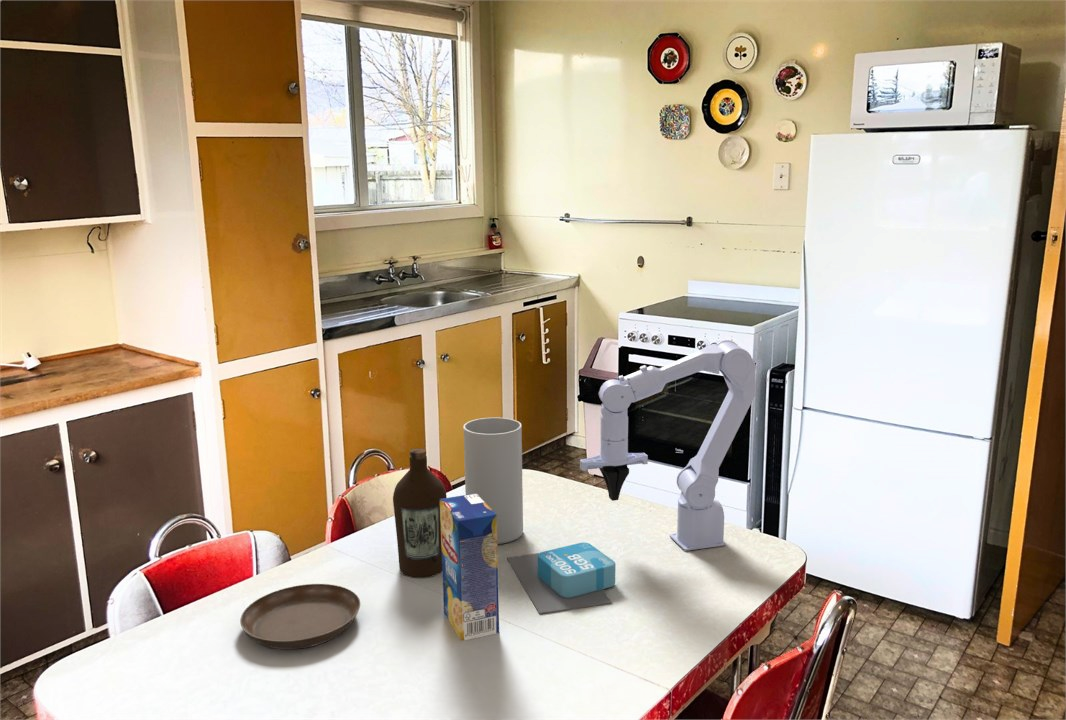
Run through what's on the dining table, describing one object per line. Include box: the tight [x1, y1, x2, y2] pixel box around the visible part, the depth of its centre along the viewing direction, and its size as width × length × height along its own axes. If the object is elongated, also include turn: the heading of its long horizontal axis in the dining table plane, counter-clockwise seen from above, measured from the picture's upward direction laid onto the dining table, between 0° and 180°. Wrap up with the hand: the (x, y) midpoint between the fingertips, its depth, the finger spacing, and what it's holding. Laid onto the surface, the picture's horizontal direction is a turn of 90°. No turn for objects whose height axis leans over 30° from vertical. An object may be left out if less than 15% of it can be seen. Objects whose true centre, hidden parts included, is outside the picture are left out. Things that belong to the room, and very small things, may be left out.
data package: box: [538, 542, 616, 598], centre depth 168 cm, size 12×4×12 cm
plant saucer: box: [239, 583, 361, 650], centre depth 153 cm, size 21×21×3 cm
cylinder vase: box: [463, 417, 524, 545], centre depth 188 cm, size 12×12×25 cm
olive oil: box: [392, 448, 448, 579], centre depth 172 cm, size 11×11×25 cm
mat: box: [506, 552, 613, 615], centre depth 169 cm, size 14×24×1 cm, turn 16°
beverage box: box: [440, 493, 500, 642], centre depth 151 cm, size 7×11×22 cm, turn 22°
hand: (613, 498), depth 183 cm, fingers closed
